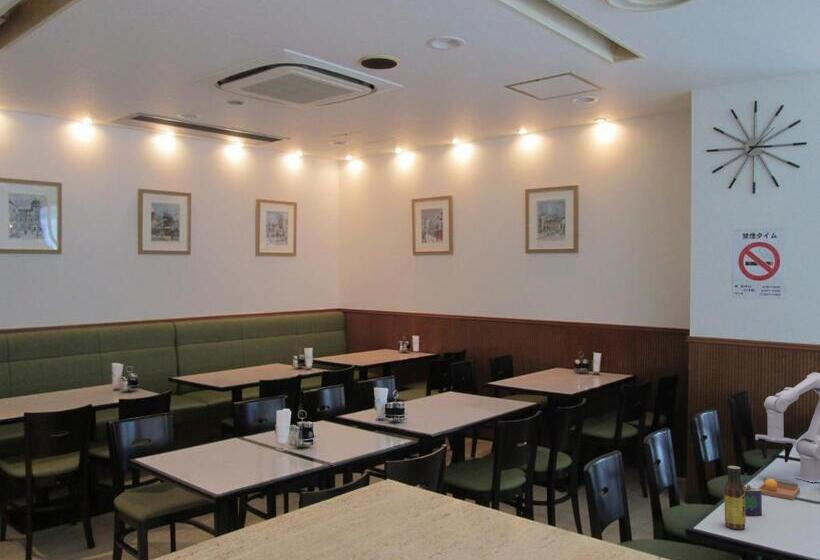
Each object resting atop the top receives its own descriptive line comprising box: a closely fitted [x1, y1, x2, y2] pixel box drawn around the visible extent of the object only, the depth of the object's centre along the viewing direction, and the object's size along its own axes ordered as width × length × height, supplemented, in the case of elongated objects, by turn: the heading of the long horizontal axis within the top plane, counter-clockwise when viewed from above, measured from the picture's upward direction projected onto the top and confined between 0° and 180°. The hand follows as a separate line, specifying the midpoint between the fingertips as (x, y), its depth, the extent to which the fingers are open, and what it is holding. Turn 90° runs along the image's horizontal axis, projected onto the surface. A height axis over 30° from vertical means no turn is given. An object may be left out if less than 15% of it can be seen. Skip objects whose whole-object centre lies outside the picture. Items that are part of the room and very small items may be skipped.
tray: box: [756, 482, 801, 501], centre depth 257 cm, size 12×12×2 cm
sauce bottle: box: [723, 465, 746, 530], centre depth 223 cm, size 6×6×20 cm
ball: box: [763, 478, 778, 491], centre depth 259 cm, size 5×5×5 cm
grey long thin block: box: [763, 477, 799, 488], centre depth 263 cm, size 1×12×3 cm, turn 49°
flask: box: [743, 483, 763, 517], centre depth 234 cm, size 9×3×11 cm, turn 88°
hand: (775, 460), depth 269 cm, fingers open, 7 cm apart
